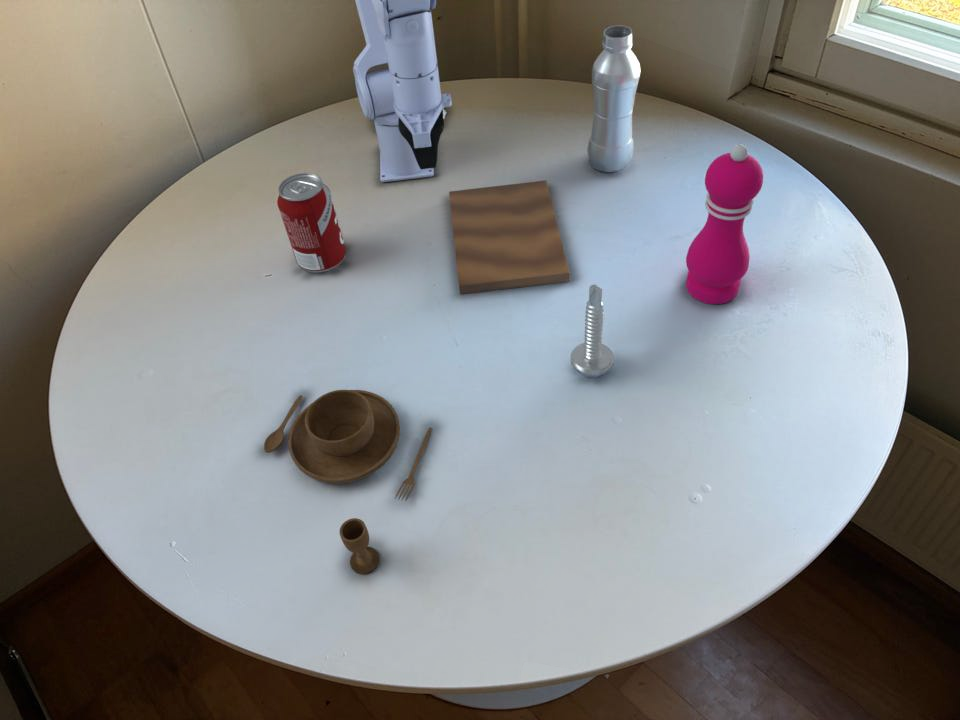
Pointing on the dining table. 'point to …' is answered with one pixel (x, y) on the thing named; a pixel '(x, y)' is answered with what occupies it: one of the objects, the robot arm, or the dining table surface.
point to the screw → (593, 340)
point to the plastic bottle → (613, 101)
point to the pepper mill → (724, 228)
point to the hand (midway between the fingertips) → (427, 165)
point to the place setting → (346, 451)
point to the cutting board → (506, 238)
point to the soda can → (311, 222)
